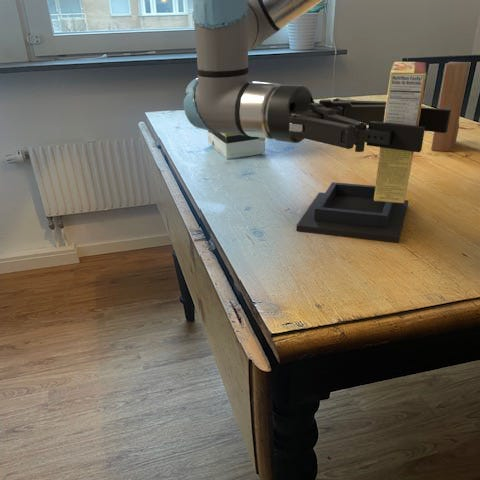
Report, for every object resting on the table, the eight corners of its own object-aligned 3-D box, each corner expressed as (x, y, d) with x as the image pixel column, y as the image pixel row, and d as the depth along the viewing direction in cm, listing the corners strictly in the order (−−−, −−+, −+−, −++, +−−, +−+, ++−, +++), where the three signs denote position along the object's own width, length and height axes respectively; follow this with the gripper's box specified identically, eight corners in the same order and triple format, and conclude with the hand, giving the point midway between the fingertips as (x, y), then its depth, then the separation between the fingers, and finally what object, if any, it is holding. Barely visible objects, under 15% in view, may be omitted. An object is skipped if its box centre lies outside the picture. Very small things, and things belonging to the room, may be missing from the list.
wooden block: (436, 140, 123) (451, 58, 113) (455, 142, 121) (472, 59, 111) (430, 150, 116) (445, 64, 106) (450, 152, 114) (468, 64, 104)
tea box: (206, 144, 127) (201, 80, 119) (243, 139, 130) (241, 77, 122) (226, 160, 115) (222, 90, 107) (266, 154, 118) (266, 86, 110)
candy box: (377, 180, 72) (391, 61, 63) (407, 182, 71) (426, 61, 62) (372, 202, 65) (388, 71, 56) (406, 204, 64) (428, 71, 55)
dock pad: (407, 205, 89) (410, 188, 87) (398, 243, 76) (401, 224, 75) (319, 196, 94) (319, 181, 92) (296, 231, 81) (296, 213, 79)
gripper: (313, 124, 82) (455, 140, 71) (235, 158, 67) (398, 186, 56) (316, 73, 77) (467, 82, 66) (232, 98, 63) (409, 115, 52)
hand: (435, 130), depth 61 cm, fingers closed on candy box, 9 cm apart
